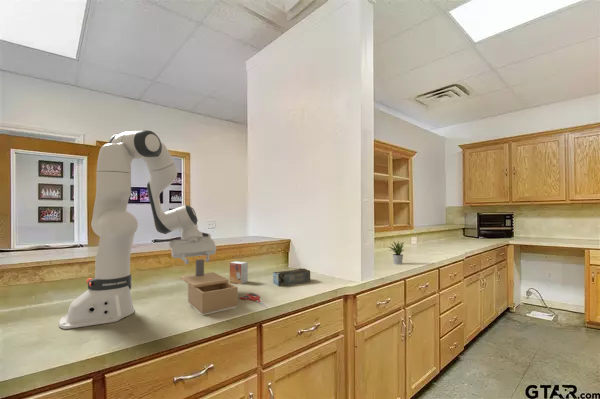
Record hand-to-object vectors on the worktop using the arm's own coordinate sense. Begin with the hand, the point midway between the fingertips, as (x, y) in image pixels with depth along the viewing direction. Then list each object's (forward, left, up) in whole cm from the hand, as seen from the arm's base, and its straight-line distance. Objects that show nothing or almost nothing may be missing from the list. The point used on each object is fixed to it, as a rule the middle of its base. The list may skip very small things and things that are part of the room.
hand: (197, 262), depth 136 cm
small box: (+24, +9, -15) cm, 30 cm away
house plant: (+136, -11, -15) cm, 138 cm away
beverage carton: (+47, -9, -15) cm, 50 cm away
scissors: (+18, -26, -15) cm, 35 cm away
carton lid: (0, -9, -7) cm, 11 cm away
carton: (0, -19, -15) cm, 24 cm away
